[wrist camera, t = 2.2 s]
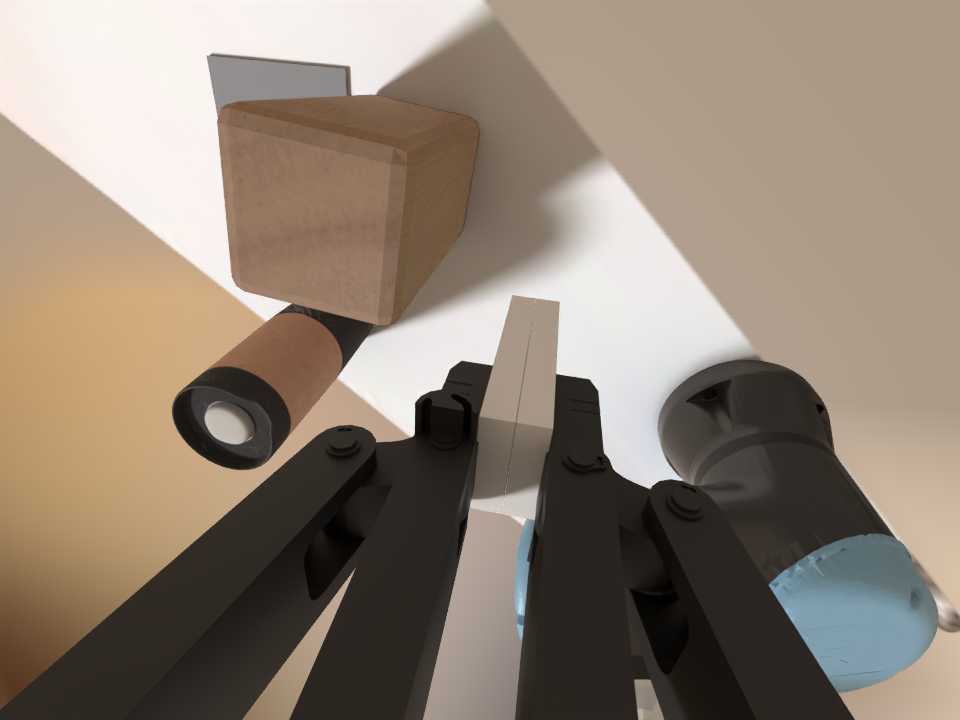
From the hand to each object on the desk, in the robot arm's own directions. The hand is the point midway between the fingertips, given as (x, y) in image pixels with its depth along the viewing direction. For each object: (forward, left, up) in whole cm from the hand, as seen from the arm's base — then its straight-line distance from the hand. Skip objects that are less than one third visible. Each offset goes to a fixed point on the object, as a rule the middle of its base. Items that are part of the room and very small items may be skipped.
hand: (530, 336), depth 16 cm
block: (+12, 0, -29) cm, 31 cm away
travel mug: (+20, +15, -29) cm, 38 cm away
